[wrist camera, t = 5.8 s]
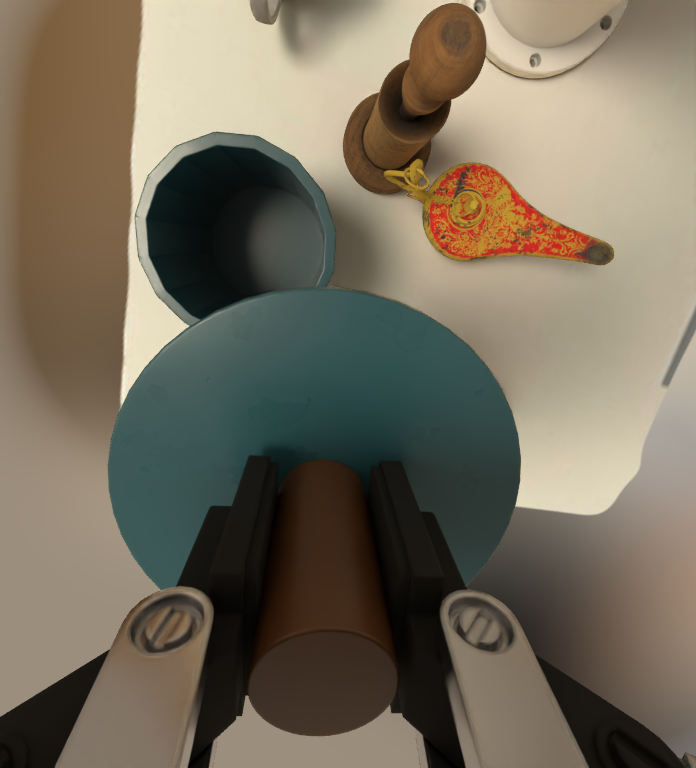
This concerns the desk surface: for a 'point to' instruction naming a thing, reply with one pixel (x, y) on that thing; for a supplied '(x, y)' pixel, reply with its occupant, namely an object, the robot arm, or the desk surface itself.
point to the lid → (315, 475)
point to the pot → (231, 224)
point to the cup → (265, 10)
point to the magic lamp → (491, 218)
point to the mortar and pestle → (415, 98)
